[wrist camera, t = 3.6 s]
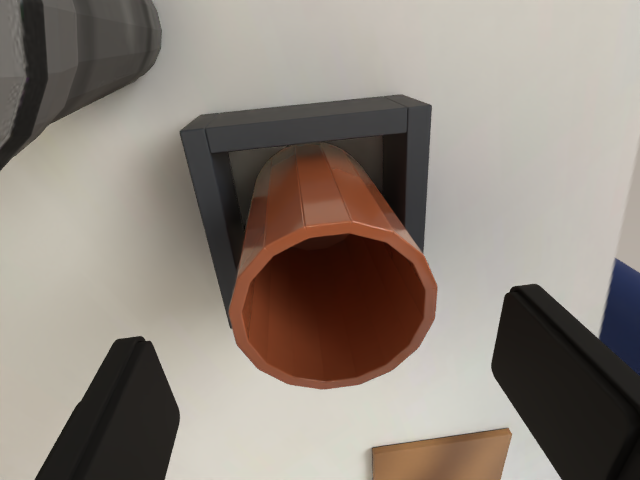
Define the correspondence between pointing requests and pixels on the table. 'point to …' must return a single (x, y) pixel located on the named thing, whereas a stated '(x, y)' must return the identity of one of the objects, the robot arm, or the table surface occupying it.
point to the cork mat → (444, 458)
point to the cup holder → (299, 128)
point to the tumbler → (327, 274)
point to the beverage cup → (67, 59)
